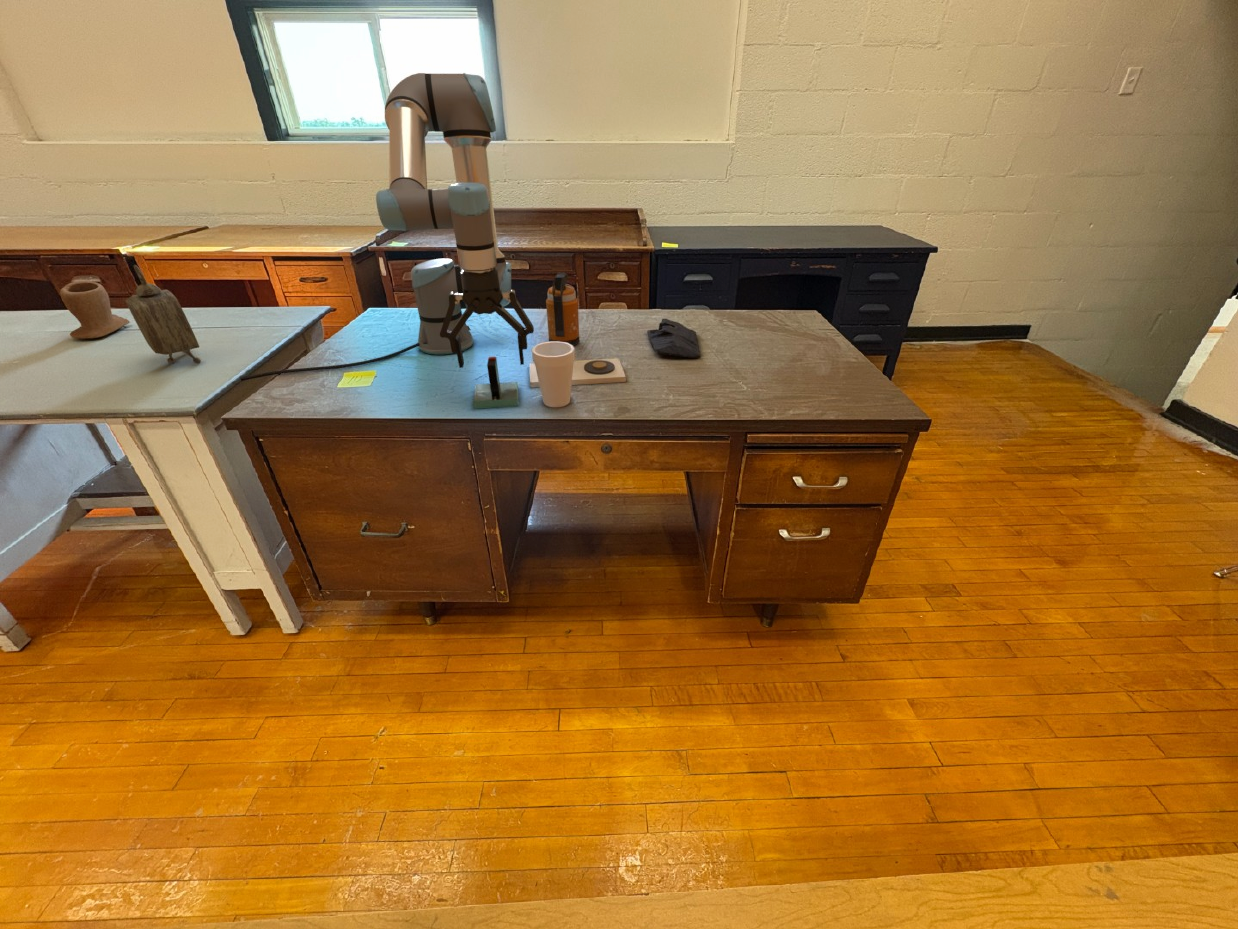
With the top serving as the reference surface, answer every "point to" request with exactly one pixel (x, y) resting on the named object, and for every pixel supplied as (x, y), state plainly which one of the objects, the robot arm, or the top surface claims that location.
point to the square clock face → (496, 396)
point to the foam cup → (554, 371)
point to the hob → (589, 372)
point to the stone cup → (91, 309)
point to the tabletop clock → (161, 320)
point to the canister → (562, 311)
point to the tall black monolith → (493, 376)
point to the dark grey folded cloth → (674, 340)
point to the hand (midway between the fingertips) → (492, 363)
